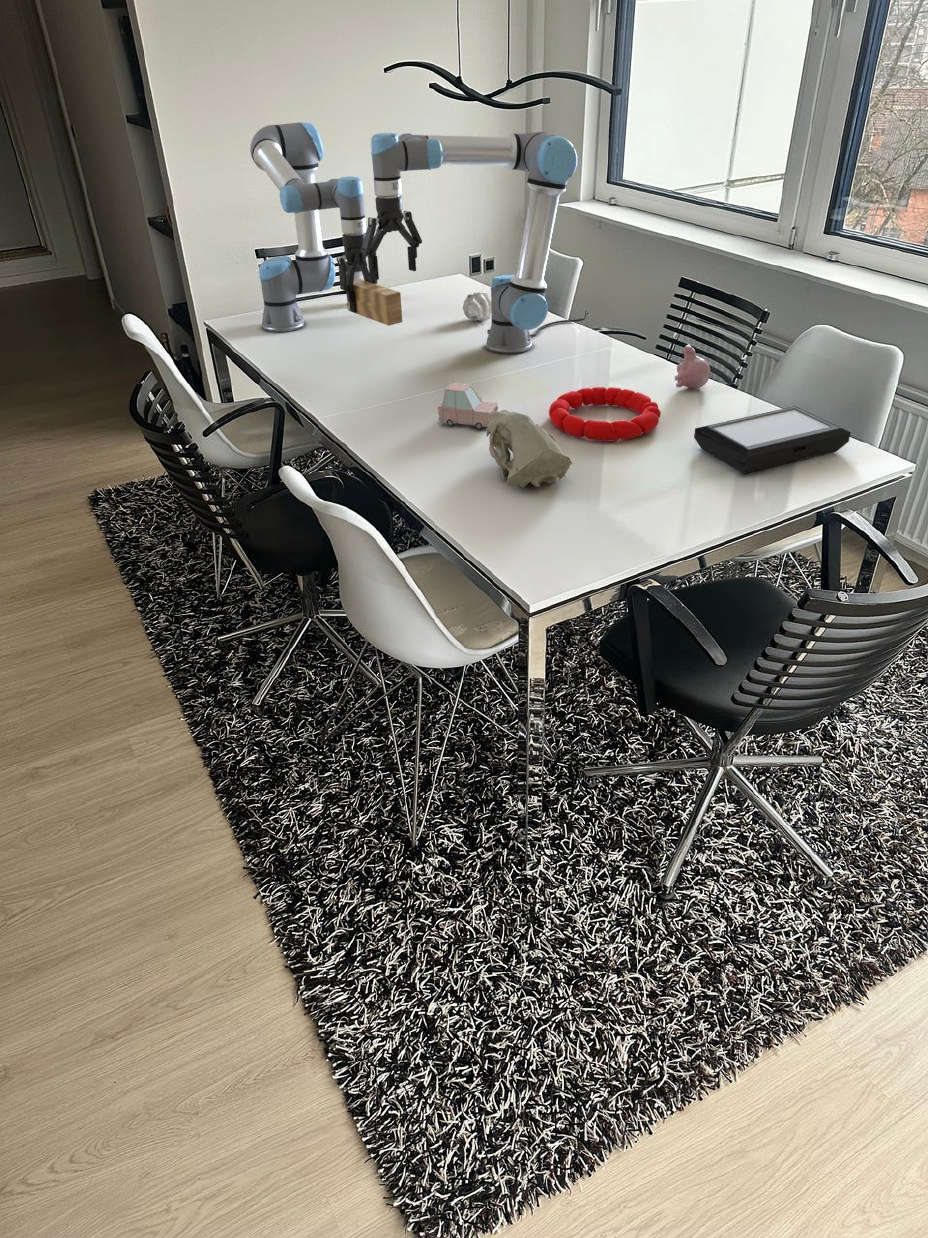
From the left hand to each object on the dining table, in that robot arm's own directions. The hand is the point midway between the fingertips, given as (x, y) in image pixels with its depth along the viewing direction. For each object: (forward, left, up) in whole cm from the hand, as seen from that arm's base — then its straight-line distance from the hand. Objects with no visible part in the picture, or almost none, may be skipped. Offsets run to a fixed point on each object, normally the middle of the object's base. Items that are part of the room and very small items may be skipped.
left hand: (361, 309), depth 287 cm
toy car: (+65, +23, -15) cm, 71 cm away
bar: (+7, +4, -1) cm, 8 cm away
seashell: (-29, +45, -15) cm, 55 cm away
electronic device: (+102, +94, -15) cm, 139 cm away
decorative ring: (+74, +59, -15) cm, 96 cm away
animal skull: (+98, +30, -15) cm, 104 cm away
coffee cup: (-64, +3, -15) cm, 66 cm away
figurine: (+56, +91, -15) cm, 108 cm away
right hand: (+22, +9, +15) cm, 28 cm away
